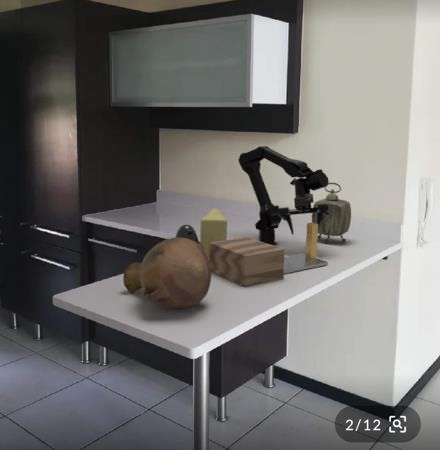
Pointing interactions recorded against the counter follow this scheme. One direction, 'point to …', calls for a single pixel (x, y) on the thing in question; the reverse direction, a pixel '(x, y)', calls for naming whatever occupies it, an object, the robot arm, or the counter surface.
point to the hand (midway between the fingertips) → (305, 233)
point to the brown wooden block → (246, 261)
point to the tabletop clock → (334, 216)
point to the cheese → (213, 229)
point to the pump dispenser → (187, 233)
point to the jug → (172, 274)
